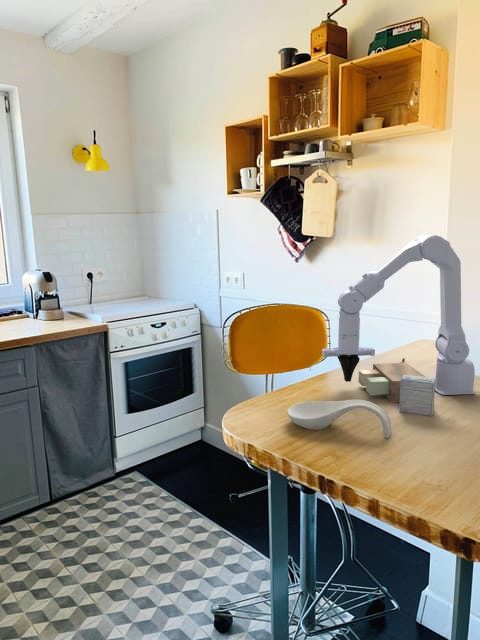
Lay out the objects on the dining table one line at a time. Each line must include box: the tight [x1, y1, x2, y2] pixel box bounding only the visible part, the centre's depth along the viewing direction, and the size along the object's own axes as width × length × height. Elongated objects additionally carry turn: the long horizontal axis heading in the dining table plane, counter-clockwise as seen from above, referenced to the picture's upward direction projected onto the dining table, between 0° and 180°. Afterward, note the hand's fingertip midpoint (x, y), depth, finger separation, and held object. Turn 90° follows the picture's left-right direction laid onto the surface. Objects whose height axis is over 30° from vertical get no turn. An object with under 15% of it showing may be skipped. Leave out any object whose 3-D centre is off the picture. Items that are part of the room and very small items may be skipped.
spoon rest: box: [286, 398, 392, 439], centre depth 114 cm, size 24×12×7 cm, turn 69°
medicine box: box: [398, 375, 436, 417], centre depth 123 cm, size 8×4×9 cm, turn 65°
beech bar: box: [358, 369, 381, 387], centre depth 141 cm, size 9×4×4 cm, turn 93°
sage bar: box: [365, 377, 390, 396], centre depth 134 cm, size 9×4×4 cm, turn 94°
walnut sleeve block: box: [372, 362, 426, 403], centre depth 138 cm, size 10×16×6 cm, turn 3°
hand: (347, 380), depth 140 cm, fingers closed
